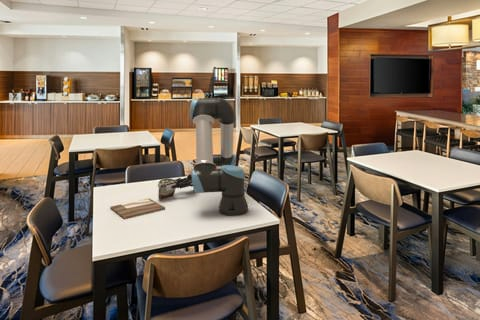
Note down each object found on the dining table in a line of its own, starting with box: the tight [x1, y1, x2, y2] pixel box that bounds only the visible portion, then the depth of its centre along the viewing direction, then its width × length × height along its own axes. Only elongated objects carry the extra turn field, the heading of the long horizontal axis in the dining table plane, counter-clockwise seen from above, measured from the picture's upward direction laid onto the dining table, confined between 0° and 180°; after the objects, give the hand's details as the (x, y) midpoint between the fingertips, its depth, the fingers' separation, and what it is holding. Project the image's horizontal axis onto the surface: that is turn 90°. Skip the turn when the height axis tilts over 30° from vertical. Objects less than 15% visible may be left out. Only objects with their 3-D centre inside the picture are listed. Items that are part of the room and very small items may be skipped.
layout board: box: [109, 198, 166, 220], centre depth 190 cm, size 20×22×1 cm
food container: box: [157, 177, 178, 201], centre depth 206 cm, size 12×6×10 cm, turn 137°
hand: (163, 187), depth 203 cm, fingers closed on food container, 4 cm apart
